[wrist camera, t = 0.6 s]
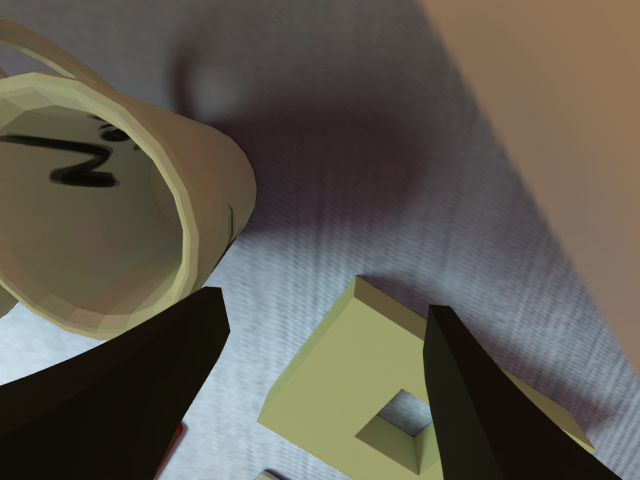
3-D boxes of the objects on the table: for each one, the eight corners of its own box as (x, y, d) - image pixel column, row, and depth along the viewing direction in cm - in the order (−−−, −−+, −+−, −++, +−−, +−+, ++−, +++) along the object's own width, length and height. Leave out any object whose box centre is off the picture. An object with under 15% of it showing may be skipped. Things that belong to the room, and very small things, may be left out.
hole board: (446, 498, 27) (455, 540, 24) (269, 390, 26) (256, 421, 23) (567, 410, 22) (596, 450, 19) (356, 275, 21) (353, 296, 18)
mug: (199, 280, 23) (84, 378, 14) (58, 105, 21) (-200, 82, 11) (310, 208, 20) (257, 273, 11) (161, -11, 17) (-80, -175, 8)
